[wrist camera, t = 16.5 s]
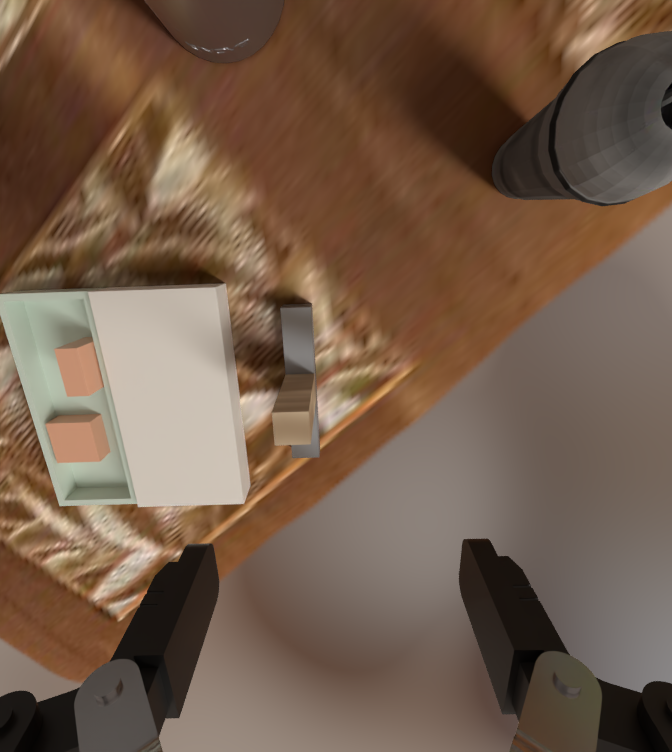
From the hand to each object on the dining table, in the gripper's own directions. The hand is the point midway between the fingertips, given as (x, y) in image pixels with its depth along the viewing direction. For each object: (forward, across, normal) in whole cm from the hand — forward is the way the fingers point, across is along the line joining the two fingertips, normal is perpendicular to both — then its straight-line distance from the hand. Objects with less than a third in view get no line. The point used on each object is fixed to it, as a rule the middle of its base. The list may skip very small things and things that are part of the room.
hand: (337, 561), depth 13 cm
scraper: (+24, +3, +3) cm, 25 cm away
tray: (+24, +23, +4) cm, 34 cm away
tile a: (+22, +20, 0) cm, 30 cm away
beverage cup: (+25, -15, -14) cm, 32 cm away
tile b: (+22, +24, +7) cm, 33 cm away
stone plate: (+24, +14, +4) cm, 28 cm away
